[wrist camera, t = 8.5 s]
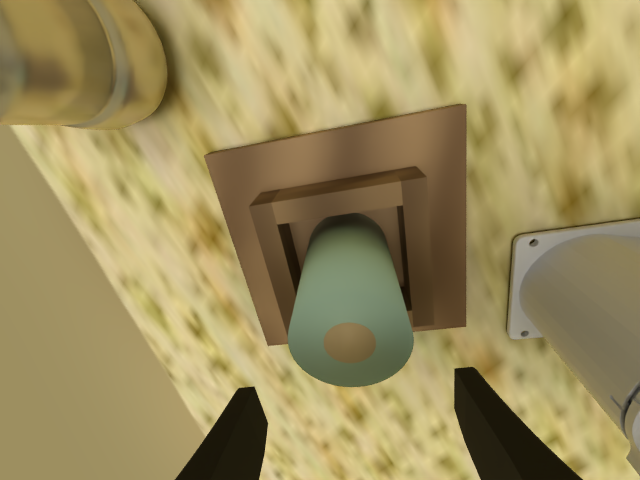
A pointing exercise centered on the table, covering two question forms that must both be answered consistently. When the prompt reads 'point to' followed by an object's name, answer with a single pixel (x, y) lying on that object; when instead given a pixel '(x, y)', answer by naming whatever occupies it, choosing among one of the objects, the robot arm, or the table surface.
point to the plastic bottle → (79, 63)
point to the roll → (349, 306)
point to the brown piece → (353, 209)
